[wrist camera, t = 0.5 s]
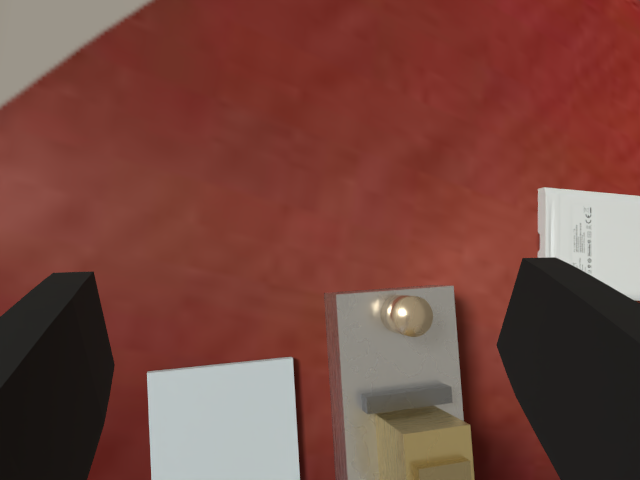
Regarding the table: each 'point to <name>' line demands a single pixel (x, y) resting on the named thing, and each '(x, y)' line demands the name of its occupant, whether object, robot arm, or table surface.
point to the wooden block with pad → (423, 445)
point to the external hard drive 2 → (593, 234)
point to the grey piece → (387, 364)
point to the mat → (224, 422)
